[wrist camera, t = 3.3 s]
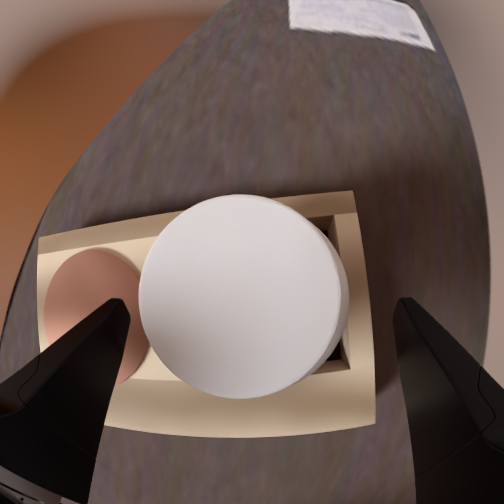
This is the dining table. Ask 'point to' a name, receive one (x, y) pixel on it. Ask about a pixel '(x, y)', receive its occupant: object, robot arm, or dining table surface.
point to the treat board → (170, 386)
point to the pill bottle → (242, 296)
